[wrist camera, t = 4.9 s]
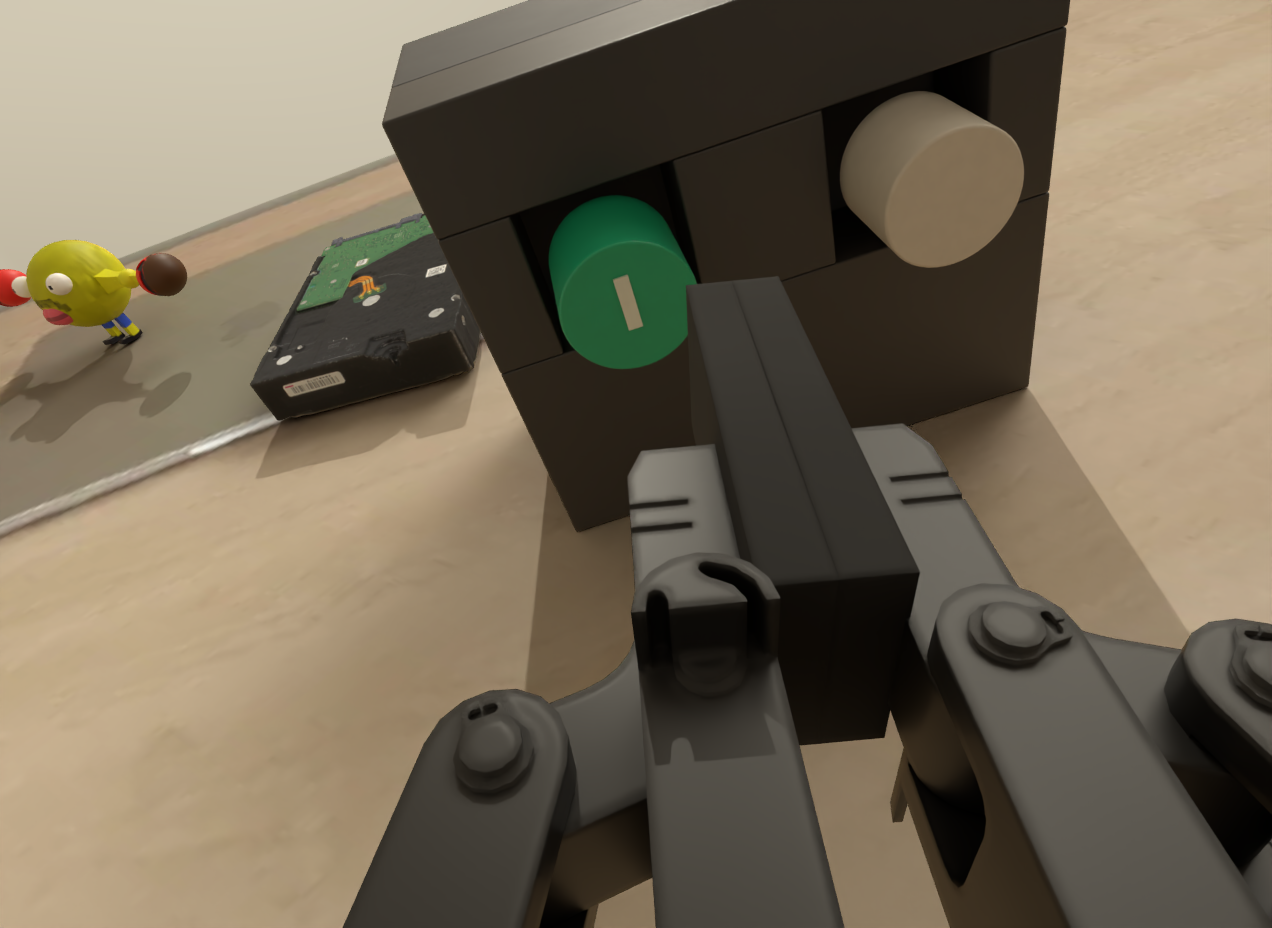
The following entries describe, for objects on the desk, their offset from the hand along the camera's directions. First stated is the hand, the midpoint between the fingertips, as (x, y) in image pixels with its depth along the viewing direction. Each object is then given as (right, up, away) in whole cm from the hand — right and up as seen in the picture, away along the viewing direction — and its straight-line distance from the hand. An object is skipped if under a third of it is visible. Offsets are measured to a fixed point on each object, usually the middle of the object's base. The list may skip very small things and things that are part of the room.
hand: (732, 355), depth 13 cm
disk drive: (-14, +6, +28) cm, 32 cm away
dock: (+3, +1, +16) cm, 16 cm away
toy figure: (-35, +6, +37) cm, 51 cm away
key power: (-2, +2, +7) cm, 8 cm away
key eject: (+6, +4, +7) cm, 10 cm away
